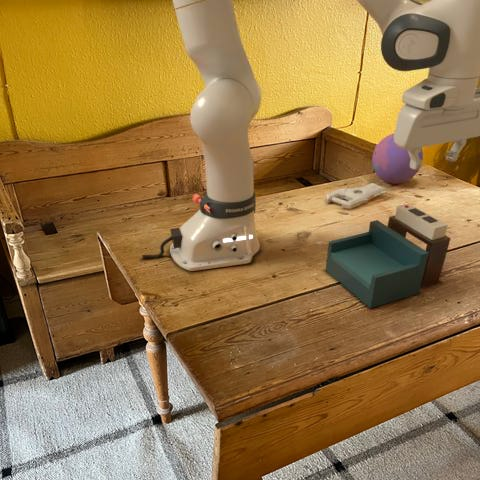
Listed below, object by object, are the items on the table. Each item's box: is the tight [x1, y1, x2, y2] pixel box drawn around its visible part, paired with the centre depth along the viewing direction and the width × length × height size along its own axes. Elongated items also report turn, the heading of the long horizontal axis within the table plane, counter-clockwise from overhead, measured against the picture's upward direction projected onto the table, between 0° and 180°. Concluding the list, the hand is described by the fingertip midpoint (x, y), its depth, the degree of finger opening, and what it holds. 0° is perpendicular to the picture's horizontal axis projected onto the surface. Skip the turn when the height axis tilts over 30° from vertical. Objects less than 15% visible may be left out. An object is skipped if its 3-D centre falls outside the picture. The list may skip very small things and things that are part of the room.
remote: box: [394, 203, 448, 240], centre depth 108 cm, size 4×12×3 cm, turn 25°
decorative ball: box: [371, 133, 424, 185], centre depth 154 cm, size 15×15×15 cm
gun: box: [325, 182, 388, 210], centre depth 147 cm, size 18×4×10 cm
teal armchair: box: [325, 219, 429, 309], centre depth 109 cm, size 13×17×10 cm
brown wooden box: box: [386, 215, 452, 288], centre depth 113 cm, size 5×14×11 cm, turn 25°
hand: (433, 164), depth 101 cm, fingers open, 8 cm apart
